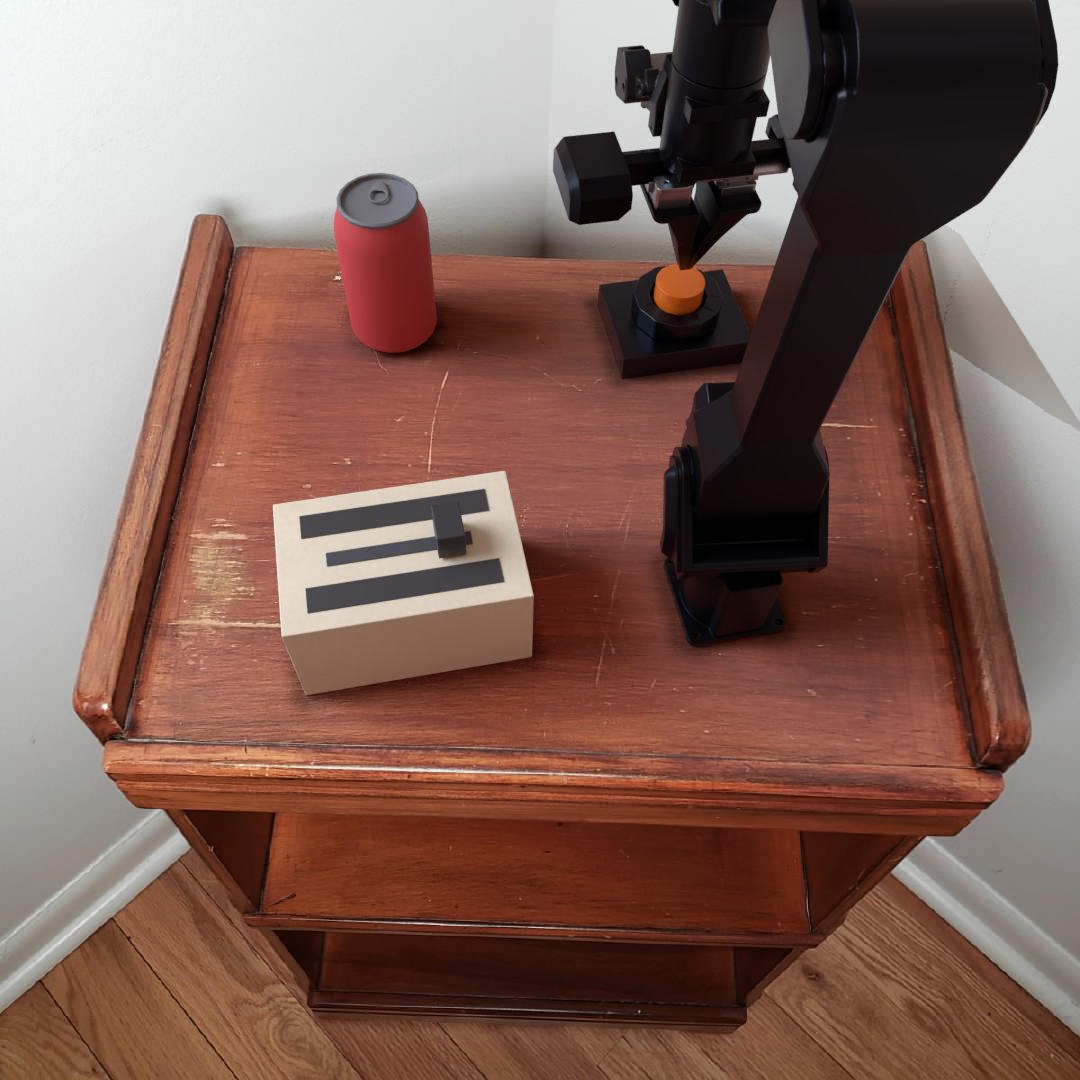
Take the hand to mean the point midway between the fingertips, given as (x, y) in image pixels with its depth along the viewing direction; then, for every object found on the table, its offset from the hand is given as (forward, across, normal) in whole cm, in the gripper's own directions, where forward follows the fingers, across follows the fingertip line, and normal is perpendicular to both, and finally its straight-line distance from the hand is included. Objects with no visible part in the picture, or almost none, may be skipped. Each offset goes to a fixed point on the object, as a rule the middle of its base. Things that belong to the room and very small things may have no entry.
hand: (683, 265), depth 73 cm
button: (+3, 0, 0) cm, 3 cm away
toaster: (+7, +23, +21) cm, 32 cm away
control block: (+7, 0, 0) cm, 7 cm away
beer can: (+7, +21, -4) cm, 23 cm away
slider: (-1, +20, +21) cm, 29 cm away
